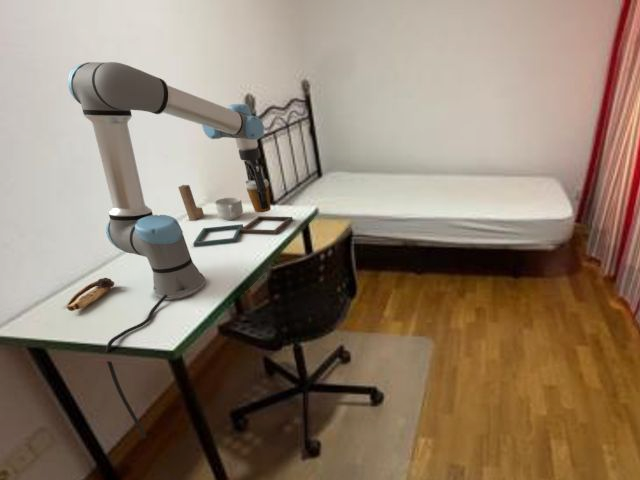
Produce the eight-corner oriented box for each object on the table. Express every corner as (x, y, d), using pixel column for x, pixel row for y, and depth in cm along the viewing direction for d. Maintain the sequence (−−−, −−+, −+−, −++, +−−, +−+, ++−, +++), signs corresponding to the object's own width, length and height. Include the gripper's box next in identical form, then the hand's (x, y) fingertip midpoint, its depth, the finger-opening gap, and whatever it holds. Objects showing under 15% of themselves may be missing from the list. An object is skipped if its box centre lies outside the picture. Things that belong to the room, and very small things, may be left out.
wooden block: (195, 220, 201) (184, 187, 193) (189, 220, 202) (177, 187, 194) (204, 215, 207) (193, 182, 199) (198, 215, 207) (187, 182, 199)
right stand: (276, 234, 183) (275, 231, 182) (240, 233, 186) (239, 229, 185) (293, 220, 196) (292, 216, 195) (259, 219, 199) (258, 216, 198)
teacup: (220, 215, 205) (215, 198, 201) (245, 211, 208) (241, 194, 204) (219, 225, 194) (213, 207, 190) (245, 222, 197) (240, 204, 192)
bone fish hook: (98, 286, 152) (54, 314, 137) (92, 274, 149) (46, 301, 134) (122, 286, 150) (80, 314, 135) (116, 274, 148) (73, 301, 133)
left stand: (236, 242, 178) (235, 238, 177) (194, 246, 176) (193, 243, 175) (243, 227, 191) (242, 224, 190) (204, 231, 189) (203, 228, 189)
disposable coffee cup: (278, 206, 190) (271, 177, 184) (269, 214, 182) (262, 184, 176) (256, 206, 191) (249, 178, 185) (246, 214, 183) (239, 184, 177)
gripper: (266, 150, 168) (279, 210, 180) (250, 142, 183) (262, 197, 195) (246, 154, 164) (260, 214, 176) (231, 145, 179) (245, 201, 191)
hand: (261, 205), depth 185 cm, fingers closed on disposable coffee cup, 8 cm apart
